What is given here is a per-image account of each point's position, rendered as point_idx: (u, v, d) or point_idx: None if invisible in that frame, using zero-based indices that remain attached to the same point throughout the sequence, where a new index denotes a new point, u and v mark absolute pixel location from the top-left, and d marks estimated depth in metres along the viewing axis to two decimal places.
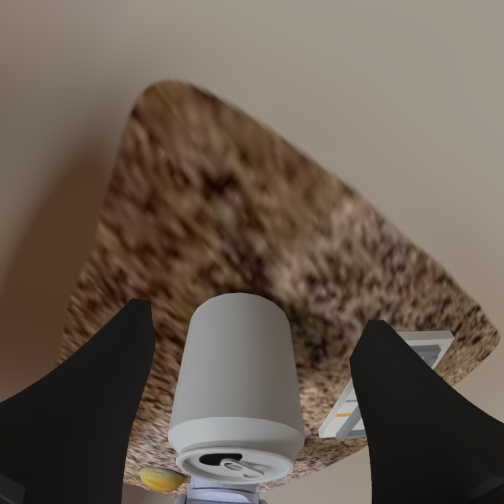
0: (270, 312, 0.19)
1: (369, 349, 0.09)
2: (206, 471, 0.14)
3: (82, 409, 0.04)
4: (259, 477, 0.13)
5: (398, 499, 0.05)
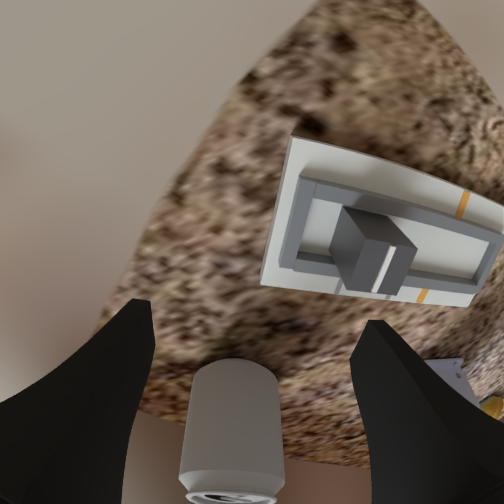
0: (196, 381, 0.22)
1: (369, 349, 0.09)
2: (257, 501, 0.16)
3: (82, 409, 0.04)
4: (244, 501, 0.14)
5: (398, 499, 0.05)
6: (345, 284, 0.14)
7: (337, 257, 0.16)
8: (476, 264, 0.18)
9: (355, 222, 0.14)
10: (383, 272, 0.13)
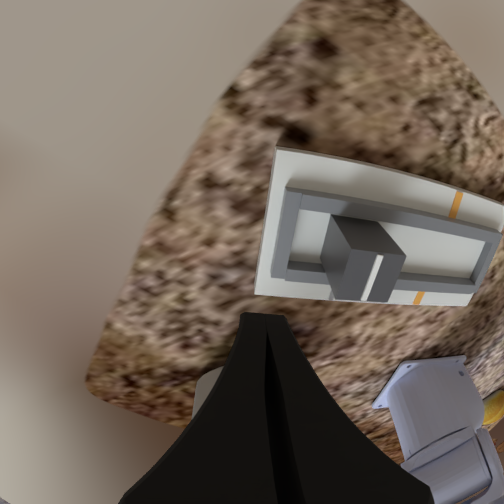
0: (199, 388, 0.23)
1: None
2: None
3: (268, 438, 0.05)
4: None
5: None
6: (334, 293, 0.14)
7: (327, 265, 0.16)
8: (473, 263, 0.18)
9: (341, 232, 0.14)
10: (372, 280, 0.14)
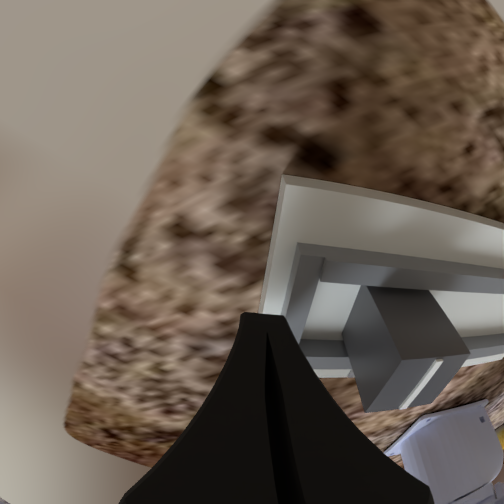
0: None
1: None
2: None
3: (268, 439, 0.05)
4: None
5: None
6: (364, 404, 0.09)
7: (353, 354, 0.10)
8: None
9: (384, 320, 0.09)
10: (419, 387, 0.08)
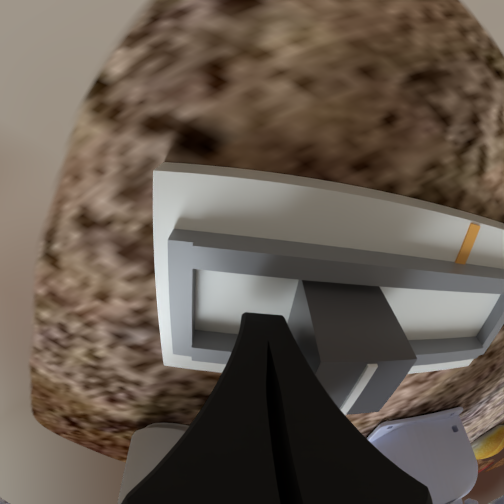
0: (131, 446, 0.17)
1: None
2: None
3: (269, 438, 0.05)
4: None
5: None
6: None
7: None
8: (483, 318, 0.12)
9: (311, 316, 0.08)
10: (356, 393, 0.08)
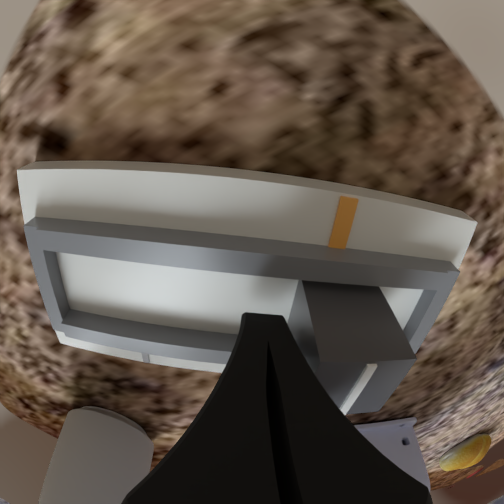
0: (63, 425, 0.16)
1: None
2: None
3: (270, 439, 0.05)
4: None
5: None
6: None
7: None
8: (403, 319, 0.12)
9: (310, 317, 0.08)
10: (356, 393, 0.08)
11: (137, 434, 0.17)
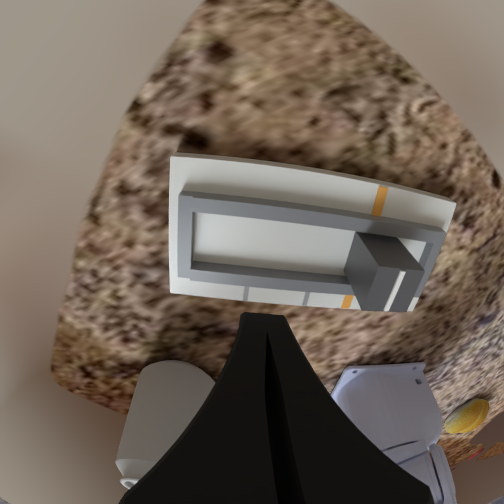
0: (138, 380, 0.23)
1: None
2: None
3: (268, 439, 0.05)
4: None
5: None
6: (360, 305, 0.15)
7: (352, 278, 0.17)
8: None
9: (368, 249, 0.15)
10: (394, 293, 0.15)
11: (209, 379, 0.24)
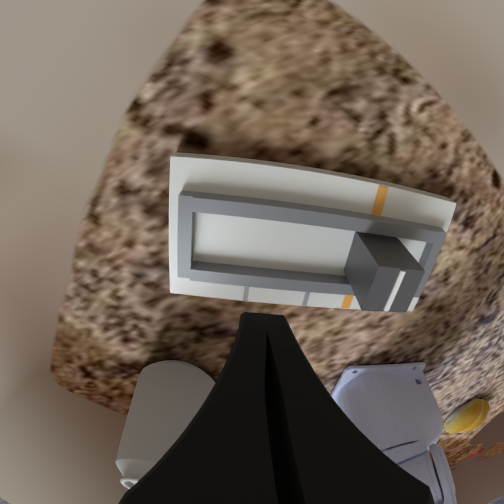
0: (138, 380, 0.23)
1: None
2: None
3: (268, 439, 0.05)
4: None
5: None
6: (360, 305, 0.15)
7: (352, 278, 0.17)
8: None
9: (368, 249, 0.15)
10: (394, 293, 0.15)
11: (209, 379, 0.24)
